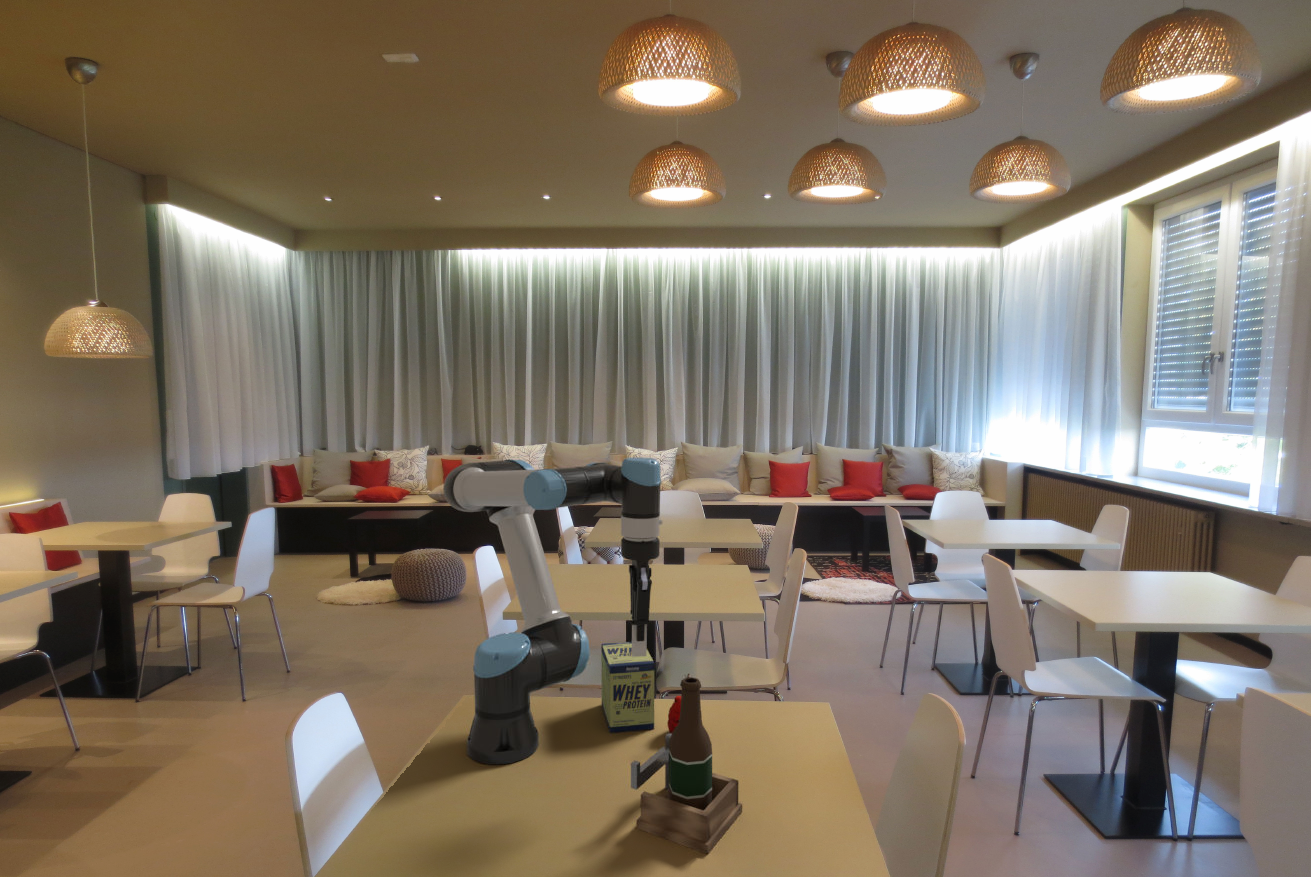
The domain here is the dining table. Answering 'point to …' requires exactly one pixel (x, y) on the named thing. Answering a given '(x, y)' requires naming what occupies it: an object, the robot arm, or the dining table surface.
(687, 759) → the beer bottle
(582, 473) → the robot arm
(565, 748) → the dining table surface
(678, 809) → the wooden crate
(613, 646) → the protein box
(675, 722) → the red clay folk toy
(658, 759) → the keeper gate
